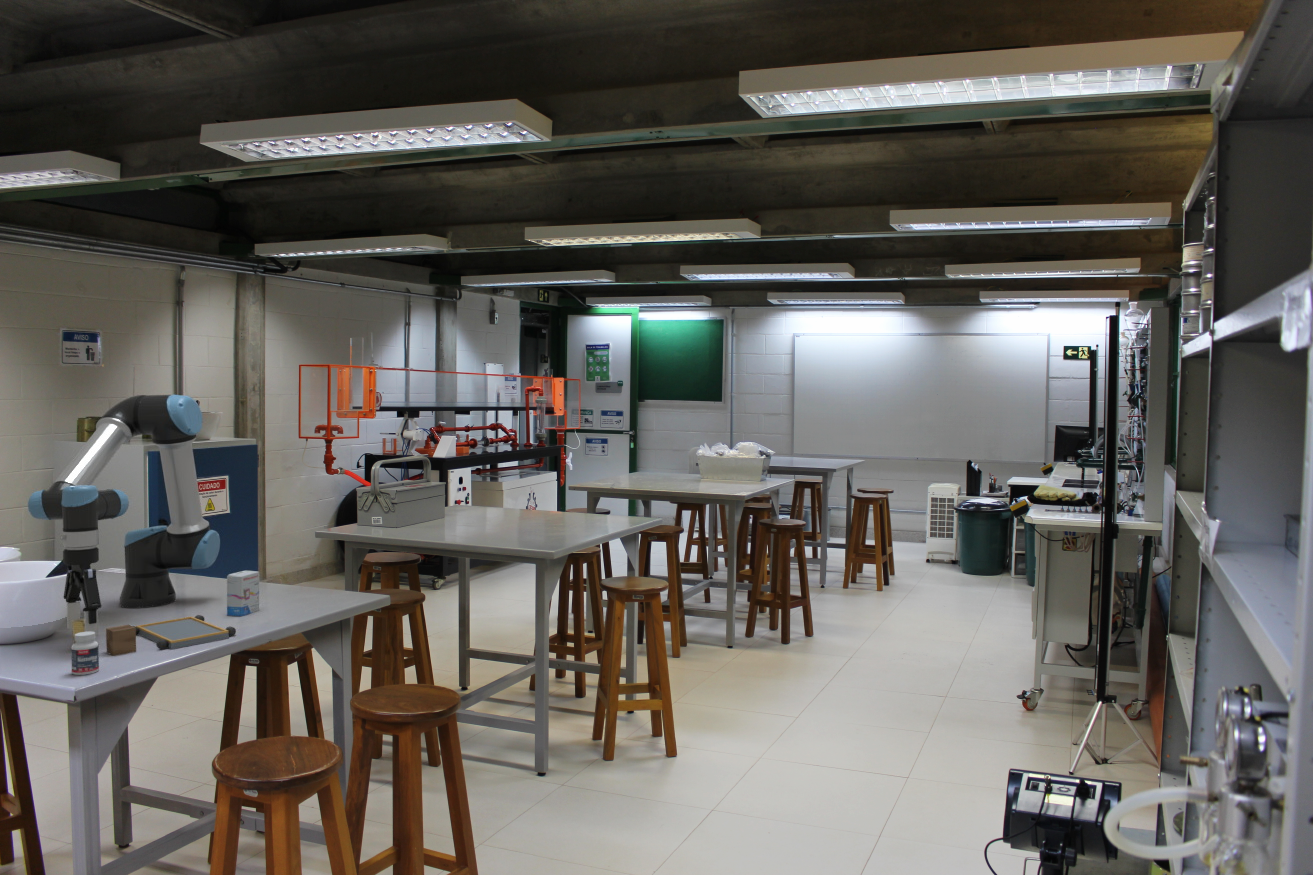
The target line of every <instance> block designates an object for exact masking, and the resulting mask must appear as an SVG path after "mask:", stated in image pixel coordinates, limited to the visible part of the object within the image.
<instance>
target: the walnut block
mask: <svg viewBox="0 0 1313 875" xmlns="http://www.w3.org/2000/svg"><path fill="white" fill-rule="evenodd" d="M133 626H134V625H131V624H124V625H123V624H122V625H117V626H112V627H111V626H110V627H106V628H105V637H106V640H105V641H106V642H105V643H106V653H107V654H109V655H111V656H113V657H115V656H121V655H126V654H130V653H136V652H137V635H136V628H135V627H136V626H135V627H133Z"/></svg>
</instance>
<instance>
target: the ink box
mask: <svg viewBox="0 0 1313 875" xmlns="http://www.w3.org/2000/svg"><path fill="white" fill-rule="evenodd" d="M258 611H260V571H254V570H242V571H238V572H233V573H229V574H228V575H227V576H226V616H231V617H243V616H247V615H249V614H253V613H255V612H258Z"/></svg>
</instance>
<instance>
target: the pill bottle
mask: <svg viewBox="0 0 1313 875" xmlns="http://www.w3.org/2000/svg"><path fill="white" fill-rule="evenodd" d="M95 640H96V636H95V632H81V633H77V634H75V641H76V643H75V644H72V645H71V649H70V650H71V655H70V656H71V674H72V675H75V676H85V675H90V674H91V675H92V674H94V673H97V672H98V671H99V669H100V657H99V656H100V655H99V654H100V652H99V649H100V648H99V643H98V642H97V640H96V641H95Z"/></svg>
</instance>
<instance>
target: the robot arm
mask: <svg viewBox="0 0 1313 875" xmlns="http://www.w3.org/2000/svg"><path fill="white" fill-rule="evenodd" d="M203 419H204V418H203V413H202V410H201V408H200V405H199V404H198V403H197V401H196V400H195V399H193V397H191V396H188V395H183V394H181V395H179V394H151V395H148V394H147V395H146V394H145V395H144V394H139V395H137V394H136V395H133V396H129V397H127V398H125V399H123V400H122V401H120V402H118V403H117V404H115V405H114V406H112V407H111V408H109V409H108V410H107V411H105V413H104V414H103V415H102V416H101V417H100V418H99V419H98V421H97V422H96V424H95V431H94V432H93V434H91V436H90V437H89V438H88V440H86V442H85V443H84V445H83V446H82V447H81V449H80V450H79V451H78V452H77V454H75V456H74V457H73V458H72V460H71V461H70V462H69V463H68V464H67V466H65V468H64V469H63V471H62V472H61V473H60V475H59V476H58V477H57V478H56V479H55V481H54V482H53V483H52V485H51V486H50V487H49V488H48V489H46V490H45V489H41V490H36V491H35V492H32V494H31V495H30V496H29V498H28V501H27V509H28V512H29V514H30V515H31V516H32V517H33V518H35V519H37V520H47V521H48V520H49V521H53V520H54V521H56V520H59V521H60V520H62V535H61V536H60V540H62V545H63V546H62V547H64V548H65V549H63V550H62V560H63V561H62V563H63V564H64V565H66V576H65V577H66V578H65V584H64V592H63V599H64V600H65V602H66V625H67V627H66V629H67V630H73V621H74V620H78V619H81V601H82V599H83V603H84V607H83V609H82V612H83V613H84V615H83V616H84V617H83V619H84V623H85V632H95V637H98V636H99V614H98V613H99V609H101V608H102V603H101V602H102V601H101V597H100V592H99V586H98V581H97V570H96V568H91V565H92V564H96V563H98V562H99V561H100V557H99V556H100V554H99V553H100V552H99V551H100V550H99V549H100V548H98V547H97V546H98V545H99V544H100V543H99V542H100V541H99V540H100V538H99V536H100V535H99V534H100V533H99V521H103V520H109V519H110V520H113V519H115V518H118V517H122V516H123V515H124V514H126V512H127V511H128V509H129V506H130V505H129V504H130V501H129V498H128V496H127V495H126V493H125V492H124V491H122V490H120V489H113V488H111V489H110V488H109V489H105V490H104V489H103V490H98V487H97V486H96V485H93V483H94V482H95V481H96V480H97V478H98V477H99V475H100V474H101V473H102V471H103V470H104V469H105V468H106V467H107V465H108V464H109V463H110V461H111V460H112V459H113V457H114V455H115V454H116V453H117V452H118V451H119V449H120V448H121V447H122V445H125V444H128V443H129V442H130V441H131V440H132V438H133V437H136V436H140V435H144V436H148V435H149V436H151V441H152V444H153V445H155V446H156V447H158V449H159V454H160V462H161V467H162V472H163V473H162V474H163V479H164V487H165V492H166V497H167V498H166V499H167V505H168V511H169V517H170V524H169V525H156V526H155V525H154V526H151V527H143V528H138V529H134V530H130V531H128V532H126V534H125V536H124V545H123V548H124V566H125V567H124V568H125V579H124V580H125V581H124V584H123V587H122V590H121V593H120V596H119V599H118V600H119V606H120V607H122V608H129V609H132V608H133V609H134V608H135V609H139V608H150V607H157V606H158V607H159V606H163V605H168V604H171V603H174V602H175V601H177V594H176V590H175V587H174V586H173V583H172V580H171V578H170V571H169V570H171V569H174V570H180V569H181V570H184V569H185V570H198V569H208V568H210V567H212V565H213V564H214V563H215V561H216V560H217V557H218V555H219V552H220V546H221V537H220V534H219V532H218V531H216V530H214V529H211V527H210V522H209V521H208V520H206V519H205V518H204V517H203V511H202V505H201V497H200V493H199V491H200V490H199V485H198V479H197V478H198V477H197V471H196V464H195V457H194V451H193V450H194V449H193V443H194V442H195V441H196V439H197V434H199V433H200V432H201V430H202V428H203V425H202V424H203V422H204V421H203ZM81 596H82V598H81Z"/></svg>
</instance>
